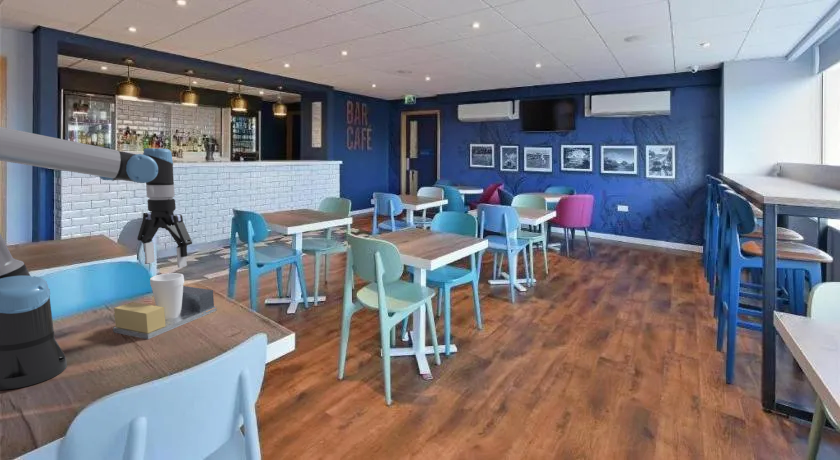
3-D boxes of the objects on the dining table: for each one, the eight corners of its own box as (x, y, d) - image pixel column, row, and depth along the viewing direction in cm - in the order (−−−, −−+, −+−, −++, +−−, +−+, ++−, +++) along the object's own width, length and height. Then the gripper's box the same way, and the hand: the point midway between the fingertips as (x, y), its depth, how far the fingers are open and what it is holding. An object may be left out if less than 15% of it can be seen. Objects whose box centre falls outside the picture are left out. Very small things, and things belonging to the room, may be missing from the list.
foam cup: (191, 311, 149) (189, 273, 147) (176, 321, 140) (173, 281, 138) (164, 310, 149) (161, 272, 147) (146, 320, 140) (143, 280, 138)
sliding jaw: (147, 333, 130) (146, 313, 129) (115, 326, 134) (113, 308, 133) (165, 326, 135) (164, 307, 134) (134, 320, 140) (132, 302, 139)
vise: (148, 339, 129) (146, 314, 128) (113, 332, 134) (111, 308, 133) (216, 310, 154) (215, 289, 153) (185, 305, 159) (183, 285, 158)
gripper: (201, 199, 138) (205, 265, 141) (142, 195, 146) (147, 258, 149) (181, 201, 131) (186, 271, 134) (120, 197, 139) (126, 263, 142)
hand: (166, 264), depth 142 cm, fingers open, 13 cm apart
